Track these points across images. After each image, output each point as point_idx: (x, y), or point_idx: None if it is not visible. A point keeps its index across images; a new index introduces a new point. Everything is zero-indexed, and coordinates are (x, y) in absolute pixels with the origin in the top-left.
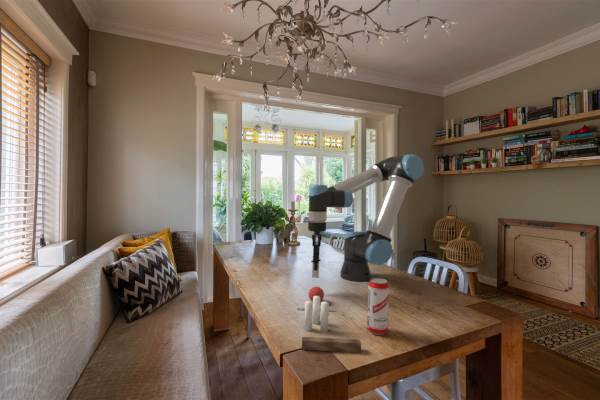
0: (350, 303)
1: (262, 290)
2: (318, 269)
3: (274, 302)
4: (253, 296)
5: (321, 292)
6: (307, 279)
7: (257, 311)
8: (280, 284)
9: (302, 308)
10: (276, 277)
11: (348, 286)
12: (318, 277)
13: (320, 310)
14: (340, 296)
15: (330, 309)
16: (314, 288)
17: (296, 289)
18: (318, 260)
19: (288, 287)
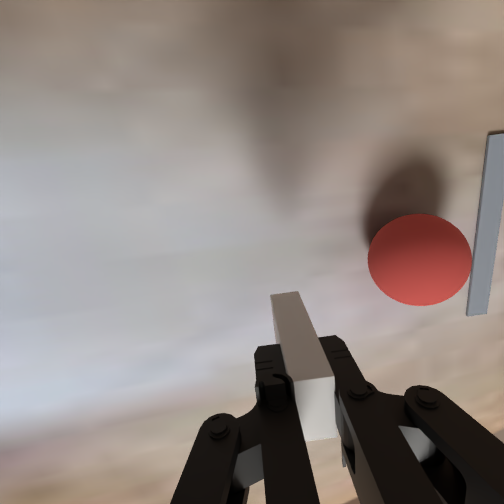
0: (400, 39)
1: None
2: (312, 330)
3: None
4: (353, 484)
5: (459, 233)
6: (48, 342)
7: (491, 432)
8: (185, 440)
9: (477, 293)
10: (87, 480)
11: (75, 51)
12: (297, 293)
13: (500, 211)
14: (293, 111)
15: (494, 161)
16: (458, 285)
17: (236, 362)
18: (454, 409)
19: (217, 401)
